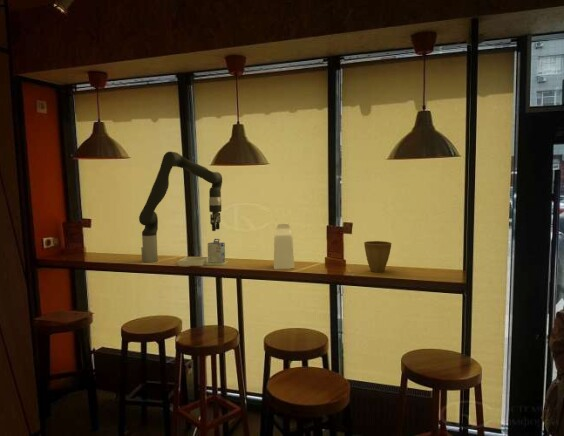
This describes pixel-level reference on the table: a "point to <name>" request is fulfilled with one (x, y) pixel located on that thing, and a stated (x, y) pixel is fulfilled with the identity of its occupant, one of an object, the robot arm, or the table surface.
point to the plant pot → (377, 254)
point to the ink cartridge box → (216, 252)
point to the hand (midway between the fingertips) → (215, 230)
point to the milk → (283, 247)
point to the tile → (216, 263)
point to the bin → (193, 261)
